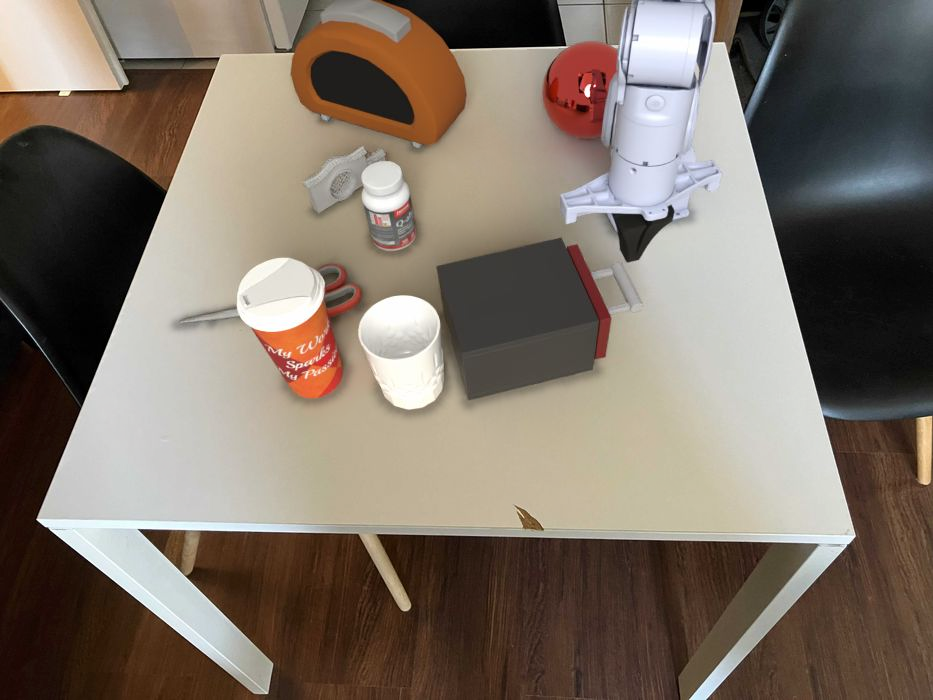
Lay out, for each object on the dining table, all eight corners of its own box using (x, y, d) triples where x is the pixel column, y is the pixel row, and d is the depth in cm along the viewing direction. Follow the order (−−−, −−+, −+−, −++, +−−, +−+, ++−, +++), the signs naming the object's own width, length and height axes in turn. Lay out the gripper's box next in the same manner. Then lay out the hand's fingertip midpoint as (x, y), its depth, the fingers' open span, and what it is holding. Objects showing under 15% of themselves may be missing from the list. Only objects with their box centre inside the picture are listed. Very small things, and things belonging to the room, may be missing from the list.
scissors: (178, 320, 84) (173, 312, 83) (349, 262, 87) (346, 254, 86) (188, 370, 80) (183, 362, 79) (367, 307, 83) (365, 299, 82)
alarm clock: (300, 116, 105) (266, 6, 91) (334, 82, 109) (307, -29, 95) (439, 159, 97) (425, 45, 84) (470, 119, 102) (461, 6, 88)
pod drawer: (611, 276, 82) (617, 234, 77) (646, 347, 76) (655, 307, 71) (467, 310, 81) (463, 270, 75) (491, 385, 75) (488, 347, 69)
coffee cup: (292, 420, 75) (247, 335, 63) (268, 363, 80) (221, 274, 67) (366, 386, 77) (335, 297, 65) (338, 333, 81) (304, 240, 69)
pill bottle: (410, 255, 87) (398, 194, 79) (366, 250, 88) (350, 189, 80) (422, 221, 91) (411, 159, 83) (378, 217, 92) (364, 155, 84)
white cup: (422, 427, 74) (409, 373, 65) (361, 394, 76) (341, 339, 68) (463, 371, 77) (455, 313, 69) (403, 342, 80) (389, 283, 72)
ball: (547, 99, 103) (549, 19, 93) (632, 104, 101) (643, 24, 91) (535, 154, 96) (535, 74, 87) (625, 161, 94) (636, 80, 85)
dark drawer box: (559, 289, 83) (561, 237, 76) (592, 370, 76) (599, 320, 69) (444, 316, 82) (436, 265, 75) (468, 400, 75) (462, 353, 68)
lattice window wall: (382, 164, 97) (374, 128, 93) (390, 170, 97) (383, 134, 92) (310, 210, 93) (298, 175, 88) (318, 217, 92) (307, 181, 88)
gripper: (580, 194, 57) (572, 300, 69) (750, 155, 59) (715, 266, 70) (554, 139, 62) (550, 248, 73) (713, 104, 63) (686, 217, 74)
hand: (629, 254), depth 71 cm, fingers closed
